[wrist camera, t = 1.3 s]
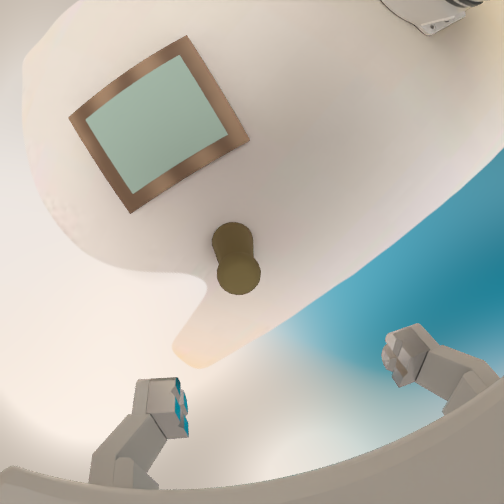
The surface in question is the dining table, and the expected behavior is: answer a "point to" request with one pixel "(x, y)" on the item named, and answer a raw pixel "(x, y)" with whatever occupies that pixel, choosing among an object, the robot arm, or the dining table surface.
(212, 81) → the wooden tray
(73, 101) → the dining table surface
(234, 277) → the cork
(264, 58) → the dining table surface
